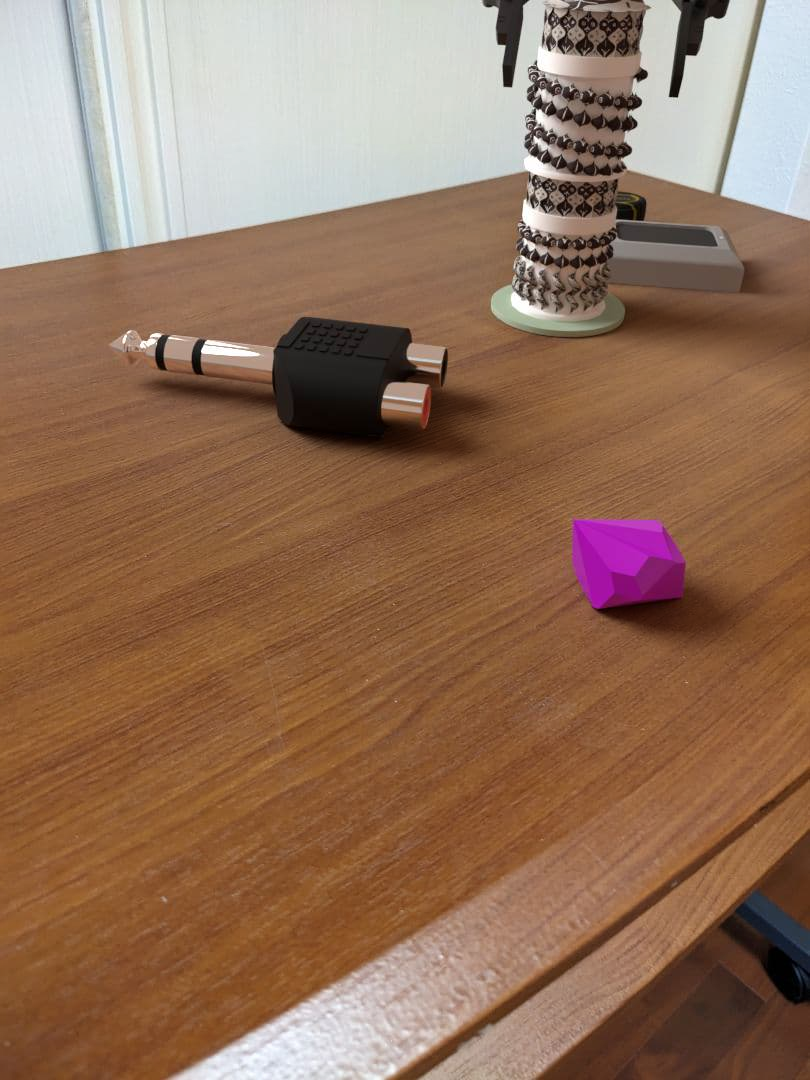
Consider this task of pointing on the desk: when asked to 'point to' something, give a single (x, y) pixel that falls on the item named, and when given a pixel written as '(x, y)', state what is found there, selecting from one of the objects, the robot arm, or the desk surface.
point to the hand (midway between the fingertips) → (590, 82)
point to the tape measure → (630, 206)
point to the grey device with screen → (674, 256)
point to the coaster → (594, 326)
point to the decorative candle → (576, 155)
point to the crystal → (626, 562)
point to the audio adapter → (315, 372)
